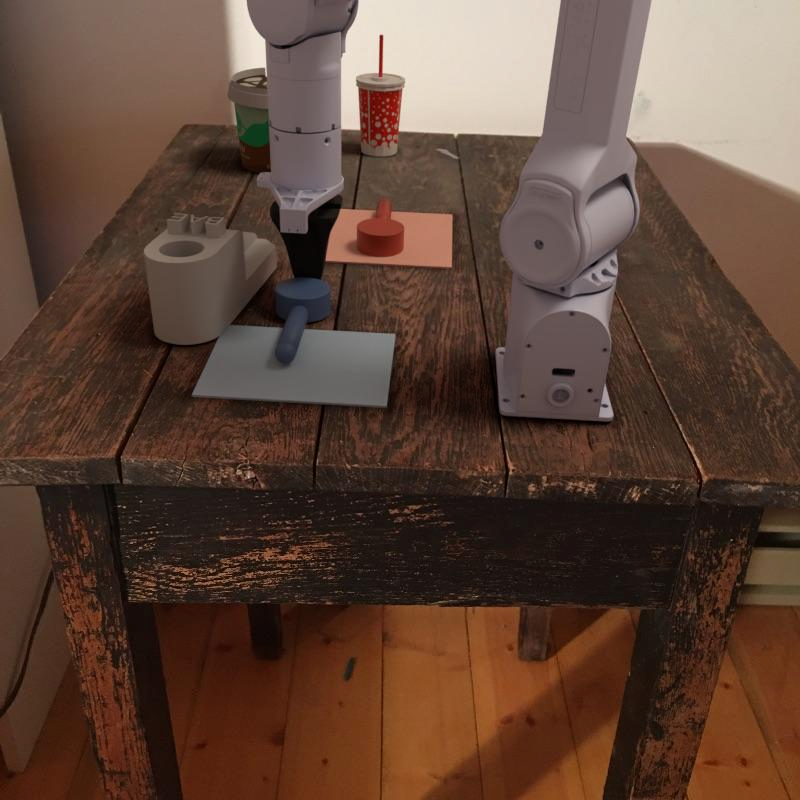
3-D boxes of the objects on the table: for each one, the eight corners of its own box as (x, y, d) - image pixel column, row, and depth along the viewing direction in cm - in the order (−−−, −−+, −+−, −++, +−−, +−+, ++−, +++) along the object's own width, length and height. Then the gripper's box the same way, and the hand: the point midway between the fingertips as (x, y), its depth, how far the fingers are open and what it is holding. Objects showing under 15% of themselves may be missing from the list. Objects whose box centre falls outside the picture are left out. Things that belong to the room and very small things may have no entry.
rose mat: (451, 269, 86) (451, 267, 86) (303, 261, 87) (303, 259, 87) (452, 216, 98) (452, 214, 98) (322, 209, 99) (322, 207, 98)
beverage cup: (411, 149, 118) (416, 34, 111) (386, 161, 114) (389, 42, 106) (372, 141, 121) (374, 28, 113) (345, 152, 116) (345, 35, 109)
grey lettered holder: (281, 261, 86) (277, 178, 82) (210, 348, 71) (201, 251, 67) (224, 255, 87) (218, 173, 83) (142, 340, 72) (128, 244, 68)
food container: (219, 152, 114) (213, 69, 109) (267, 148, 117) (263, 66, 111) (249, 183, 105) (244, 94, 100) (300, 177, 107) (297, 90, 102)
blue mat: (386, 408, 65) (386, 405, 65) (191, 397, 66) (191, 394, 66) (395, 336, 75) (395, 333, 74) (224, 326, 75) (224, 324, 75)
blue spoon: (280, 299, 80) (280, 275, 79) (333, 302, 80) (333, 278, 78) (253, 365, 69) (252, 339, 68) (314, 368, 69) (314, 342, 68)
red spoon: (402, 258, 88) (403, 236, 86) (354, 256, 88) (355, 234, 87) (406, 212, 98) (406, 192, 97) (363, 210, 98) (363, 190, 97)
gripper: (271, 98, 79) (277, 246, 86) (235, 148, 66) (246, 316, 74) (352, 102, 78) (352, 250, 86) (332, 153, 66) (333, 321, 73)
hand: (308, 281), depth 80 cm, fingers closed
